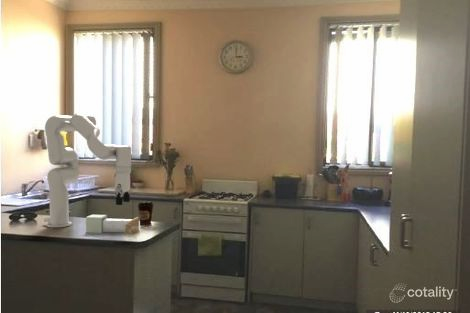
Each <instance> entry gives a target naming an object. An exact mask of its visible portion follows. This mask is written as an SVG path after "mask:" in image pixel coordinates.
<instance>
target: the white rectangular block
mask: <svg viewBox="0 0 470 313" xmlns="http://www.w3.org/2000/svg"><path fill="white" fill-rule="evenodd" d="M133 219H134V218H132V219H130V218H128V219H127V218H107V219H105V218H103V219H102V233H124V234H125V224H126V223H127V224H131V220H133Z"/></svg>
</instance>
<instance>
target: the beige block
mask: <svg viewBox="0 0 470 313" xmlns="http://www.w3.org/2000/svg"><path fill="white" fill-rule="evenodd" d="M132 219H133V220H131V224H127V223H126V224H125V233H124V234H125V235H135V234H136V233H137V232H139V231H140V221H139V216H136V217H134V218H132Z"/></svg>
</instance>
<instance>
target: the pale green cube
mask: <svg viewBox="0 0 470 313" xmlns="http://www.w3.org/2000/svg"><path fill="white" fill-rule="evenodd" d="M103 218H105V219H108V214H90V215H88V216H86V217H85V232H86V233H93V234H95V233H97V234H99V233H101V234H102V233H103V232H102V219H103Z"/></svg>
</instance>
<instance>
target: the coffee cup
mask: <svg viewBox="0 0 470 313" xmlns="http://www.w3.org/2000/svg"><path fill="white" fill-rule="evenodd" d="M137 208H138V217H139V226H142V227H146V226H152V218H153V214H154V213H153V212H154V211H153V209H154V203H153V201H151V200H148V201H147V200H144V201H139V202H138V204H137Z"/></svg>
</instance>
